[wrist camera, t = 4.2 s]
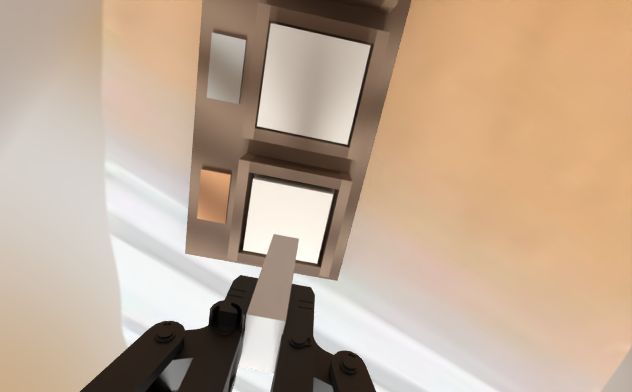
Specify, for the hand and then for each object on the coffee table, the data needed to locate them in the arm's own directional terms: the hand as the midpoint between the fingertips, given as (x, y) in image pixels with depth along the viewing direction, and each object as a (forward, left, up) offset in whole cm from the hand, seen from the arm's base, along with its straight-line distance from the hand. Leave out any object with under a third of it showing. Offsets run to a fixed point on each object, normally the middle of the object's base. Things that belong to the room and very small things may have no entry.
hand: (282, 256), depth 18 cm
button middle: (-10, 0, -7) cm, 12 cm away
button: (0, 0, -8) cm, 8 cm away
